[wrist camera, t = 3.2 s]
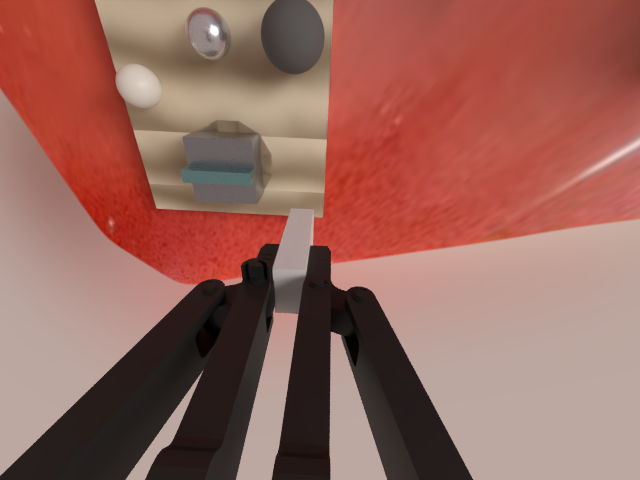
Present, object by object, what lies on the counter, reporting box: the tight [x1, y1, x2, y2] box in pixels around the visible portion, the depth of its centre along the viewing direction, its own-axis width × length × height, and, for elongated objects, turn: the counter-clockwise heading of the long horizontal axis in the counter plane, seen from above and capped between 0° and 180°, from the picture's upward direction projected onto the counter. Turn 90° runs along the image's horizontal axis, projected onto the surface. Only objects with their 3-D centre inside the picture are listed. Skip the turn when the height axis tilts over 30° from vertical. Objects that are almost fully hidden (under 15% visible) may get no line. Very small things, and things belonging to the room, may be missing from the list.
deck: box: [95, 0, 334, 218], centre depth 28 cm, size 22×20×2 cm
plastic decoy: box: [115, 64, 162, 108], centre depth 25 cm, size 4×4×4 cm
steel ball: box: [185, 7, 232, 60], centre depth 23 cm, size 4×4×4 cm
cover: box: [180, 130, 264, 205], centre depth 28 cm, size 6×6×5 cm
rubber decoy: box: [261, 0, 325, 74], centre depth 22 cm, size 5×5×5 cm
